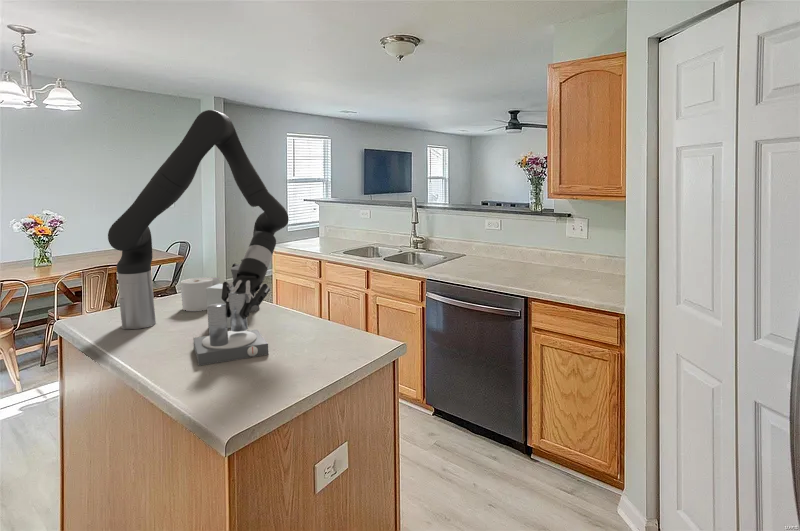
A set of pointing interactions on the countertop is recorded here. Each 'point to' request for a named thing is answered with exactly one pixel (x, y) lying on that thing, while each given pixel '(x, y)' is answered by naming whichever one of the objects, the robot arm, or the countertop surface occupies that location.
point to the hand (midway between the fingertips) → (234, 316)
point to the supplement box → (216, 298)
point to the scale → (231, 347)
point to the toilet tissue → (196, 292)
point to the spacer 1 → (217, 324)
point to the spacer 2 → (237, 311)
